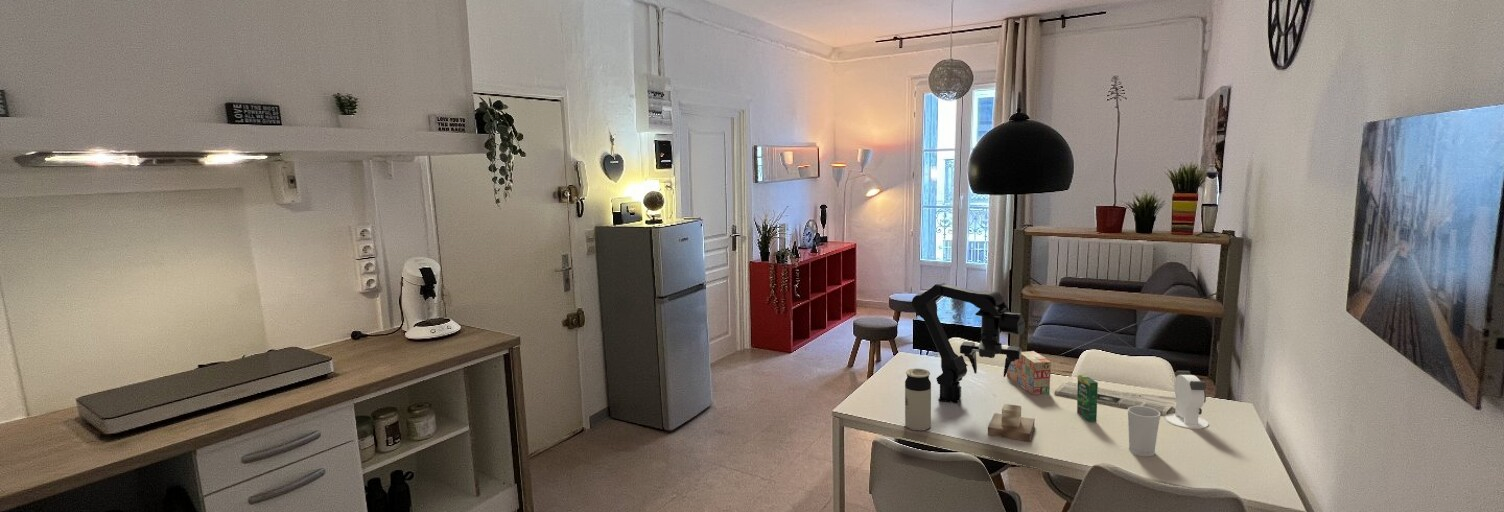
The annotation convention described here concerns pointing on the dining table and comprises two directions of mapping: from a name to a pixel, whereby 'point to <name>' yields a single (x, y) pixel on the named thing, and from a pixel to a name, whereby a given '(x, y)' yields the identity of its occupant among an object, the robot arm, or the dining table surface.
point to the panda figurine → (1188, 401)
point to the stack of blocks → (1031, 372)
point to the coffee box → (1087, 398)
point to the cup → (1143, 430)
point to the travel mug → (918, 399)
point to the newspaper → (1121, 398)
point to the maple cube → (1011, 415)
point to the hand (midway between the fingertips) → (989, 375)
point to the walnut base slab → (1011, 428)
